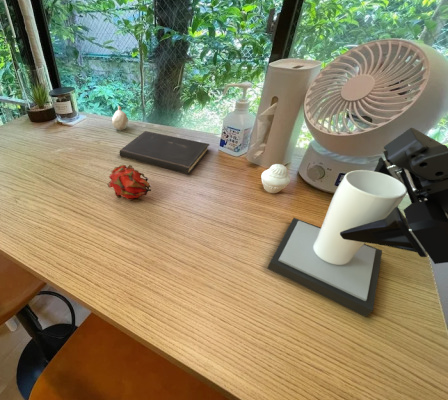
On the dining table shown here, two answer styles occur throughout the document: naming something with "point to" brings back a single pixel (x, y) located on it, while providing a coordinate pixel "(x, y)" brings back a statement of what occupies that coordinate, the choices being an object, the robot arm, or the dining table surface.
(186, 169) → the hardcover book
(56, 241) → the dining table surface
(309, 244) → the scale
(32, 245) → the dining table surface
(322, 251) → the white cup
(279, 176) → the muffin
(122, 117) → the garlic bulb
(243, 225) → the dining table surface
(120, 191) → the dragon fruit
